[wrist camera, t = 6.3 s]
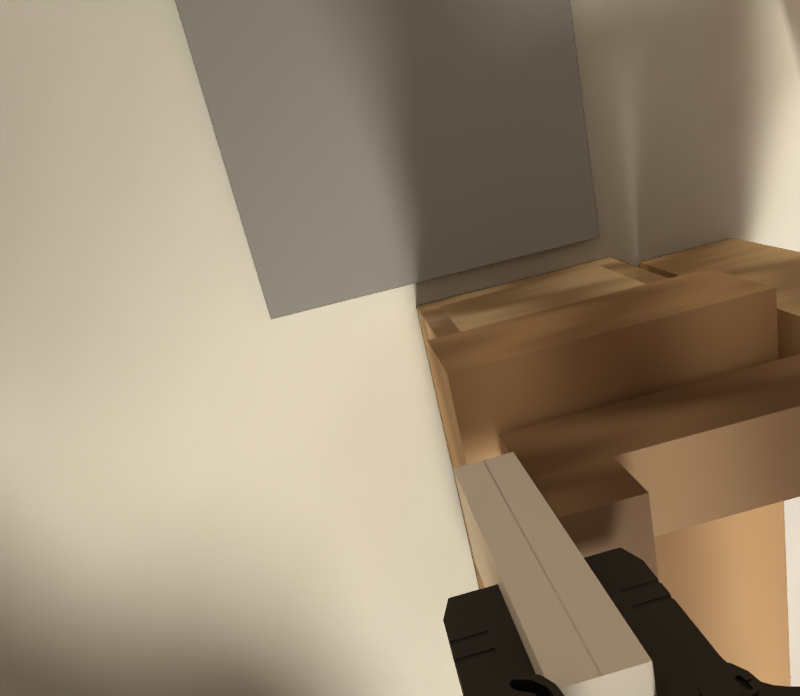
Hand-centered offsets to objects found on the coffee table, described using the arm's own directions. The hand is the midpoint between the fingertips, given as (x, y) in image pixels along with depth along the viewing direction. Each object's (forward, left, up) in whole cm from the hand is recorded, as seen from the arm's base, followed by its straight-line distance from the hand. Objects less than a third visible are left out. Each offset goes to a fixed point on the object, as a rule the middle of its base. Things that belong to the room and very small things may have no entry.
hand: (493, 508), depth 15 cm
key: (+7, 0, -2) cm, 7 cm away
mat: (+1, +13, -11) cm, 17 cm away
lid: (+4, -6, -5) cm, 9 cm away
